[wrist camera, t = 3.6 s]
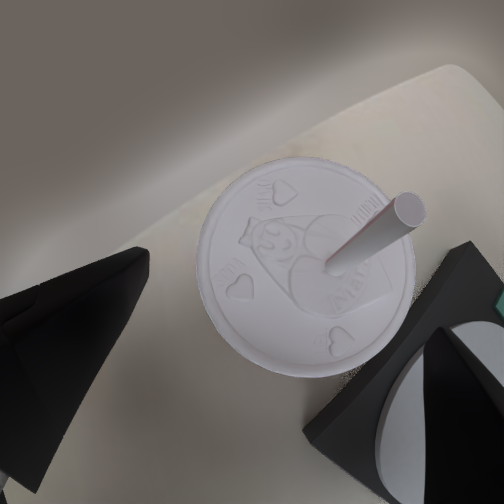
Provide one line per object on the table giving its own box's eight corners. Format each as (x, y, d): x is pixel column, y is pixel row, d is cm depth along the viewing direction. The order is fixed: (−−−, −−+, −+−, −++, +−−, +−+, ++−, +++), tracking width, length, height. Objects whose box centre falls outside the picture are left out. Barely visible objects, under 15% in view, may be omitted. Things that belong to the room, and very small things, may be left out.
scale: (425, 522, 14) (445, 540, 11) (301, 430, 16) (313, 448, 13) (536, 368, 17) (562, 368, 14) (450, 249, 19) (478, 236, 16)
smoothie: (308, 370, 17) (472, 458, 3) (200, 326, 17) (69, 312, 4) (347, 266, 18) (522, 139, 5) (246, 224, 19) (254, 11, 5)
